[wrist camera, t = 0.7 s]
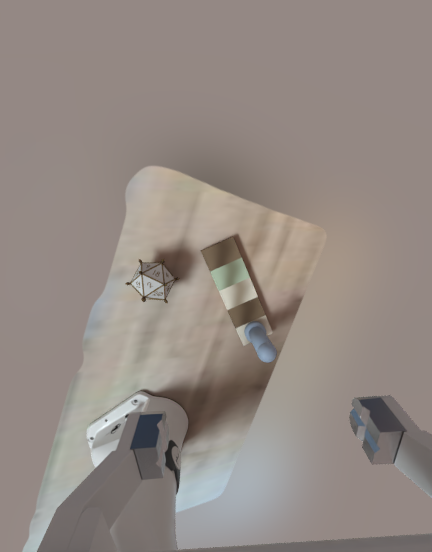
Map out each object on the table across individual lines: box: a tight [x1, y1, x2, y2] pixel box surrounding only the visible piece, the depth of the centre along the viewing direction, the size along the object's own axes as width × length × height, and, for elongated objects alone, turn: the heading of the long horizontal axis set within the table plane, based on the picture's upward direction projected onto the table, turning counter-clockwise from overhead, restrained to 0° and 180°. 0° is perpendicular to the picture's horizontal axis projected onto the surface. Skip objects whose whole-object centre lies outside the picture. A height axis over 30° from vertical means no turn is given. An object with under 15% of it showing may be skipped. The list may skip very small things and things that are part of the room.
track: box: [201, 237, 273, 346], centre depth 52 cm, size 7×22×1 cm, turn 24°
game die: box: [126, 259, 179, 304], centre depth 47 cm, size 9×8×10 cm
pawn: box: [244, 321, 277, 362], centre depth 48 cm, size 4×4×11 cm
